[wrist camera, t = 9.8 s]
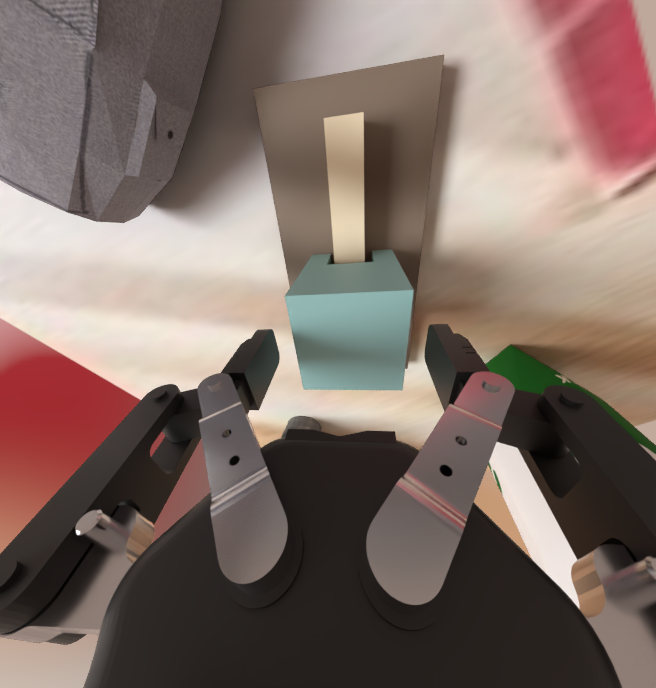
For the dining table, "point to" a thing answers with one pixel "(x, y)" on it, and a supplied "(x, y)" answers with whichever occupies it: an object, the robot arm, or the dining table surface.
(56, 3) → the soft grey pack
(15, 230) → the dining table surface
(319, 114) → the cleat board
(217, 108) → the dining table surface
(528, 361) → the milk carton
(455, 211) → the dining table surface
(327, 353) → the saddle block
